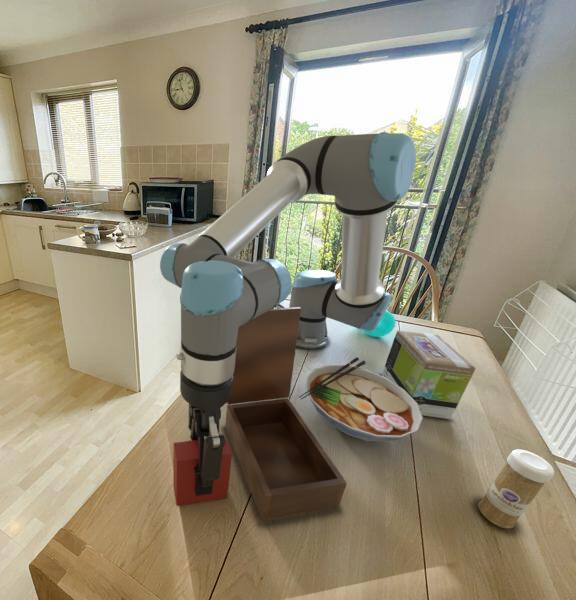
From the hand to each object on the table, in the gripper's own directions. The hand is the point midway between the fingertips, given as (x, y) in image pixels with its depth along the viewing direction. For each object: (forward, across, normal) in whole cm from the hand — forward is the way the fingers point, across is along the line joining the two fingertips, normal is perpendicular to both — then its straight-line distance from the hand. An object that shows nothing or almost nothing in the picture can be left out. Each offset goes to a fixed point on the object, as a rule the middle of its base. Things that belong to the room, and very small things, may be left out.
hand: (200, 480), depth 54 cm
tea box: (+4, -17, +60) cm, 63 cm away
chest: (+4, -4, +16) cm, 17 cm away
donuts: (+4, -48, +73) cm, 87 cm away
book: (+3, 0, 0) cm, 3 cm away
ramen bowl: (+4, -12, +39) cm, 41 cm away
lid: (-14, -14, +16) cm, 25 cm away
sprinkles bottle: (+4, +11, +49) cm, 50 cm away
